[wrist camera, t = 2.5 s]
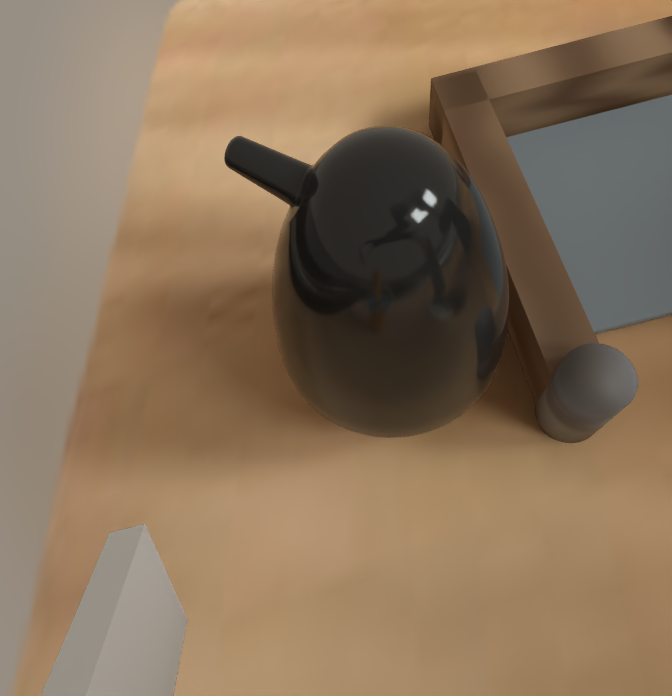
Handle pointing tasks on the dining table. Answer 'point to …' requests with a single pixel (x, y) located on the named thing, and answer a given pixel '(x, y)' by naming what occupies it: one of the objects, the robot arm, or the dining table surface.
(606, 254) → the pad
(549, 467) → the dining table surface
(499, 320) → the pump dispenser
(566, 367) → the wooden corner bracket
